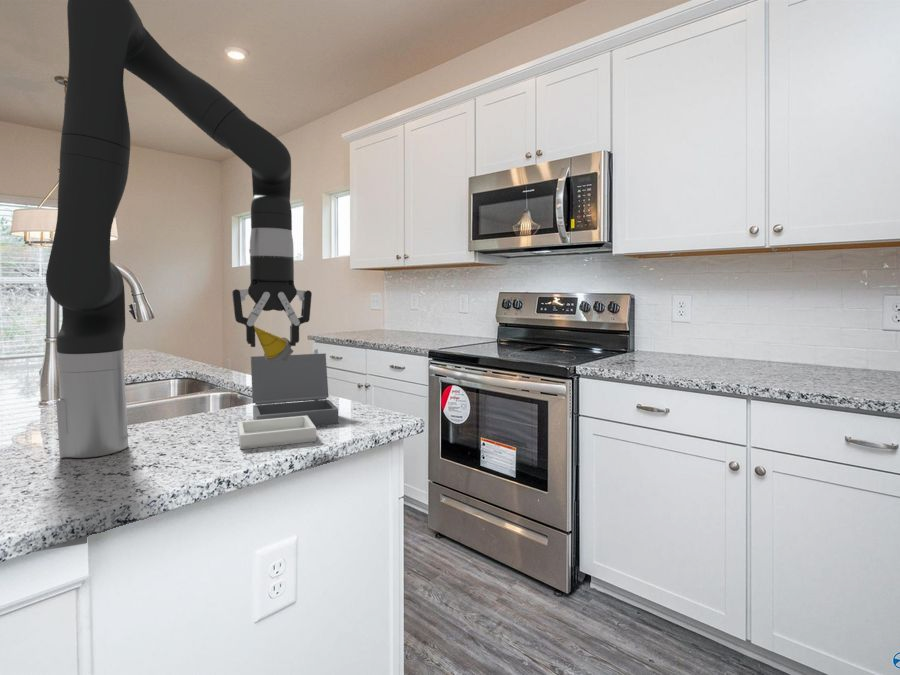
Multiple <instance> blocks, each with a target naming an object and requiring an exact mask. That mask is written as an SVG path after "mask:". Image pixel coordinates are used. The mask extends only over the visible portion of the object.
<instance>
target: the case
mask: <svg viewBox="0 0 900 675" xmlns="http://www.w3.org/2000/svg"><path fill="white" fill-rule="evenodd" d="M306 415H307V416H308V417H309V419H310V420H311V421H312V423H313V424H314V426H315V427H316V426H323V425H325V426H326V425H332V424H333V425H334V424H339V408H338V407H337V406H336V405H335V404H334V403H333V402H332V401H331V400H330V399H324V400H316V401H314V400H311V401H298V402H286V403H273V404H261V405H255V404H254V405H252V420H262V419H273V418H284V417H295V416H306Z"/></svg>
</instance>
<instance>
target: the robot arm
mask: <svg viewBox="0 0 900 675" xmlns="http://www.w3.org/2000/svg"><path fill="white" fill-rule="evenodd" d="M66 11H67V13H66V14H67V30H68V31H67V33H68V34H67V35H68V73H67V74H68V75H67V81H66V82H67V84H66V91H65V99H64V100H65V101H64V111H63V121H62V122H63V123H62V128H61V129H62V130H61V139H60V151H59V173H58V174H59V175H58V184H57V185H58V188H57V217H56V226H55V229H54V230H55V231H54V236H53V240H52V244H51V249H50V254H49V259H48V264H47V268H46V273H45V274H46V275H45V284H46V288H47V292H49V293H48V294H49V295H50V296H51V298H52V299H53V301H54V302H55V303H57V304H58V306H61V308H62V309H61V310H62V322H61V326H60V330H59V332H58V334H57V337H56V342H55V343H56V353H57V354H56V355H57V356H56V357H57V367H58V368H57V371H58V385H59V398H58V399H57V400H56V403H55V405H56V416H57V434H58V446H59V447H58V449H59V450H58V451H59V458H60V459H62V458H71V459H72V458H73V459H75V458H76V459H86V458H93V457H94V458H96V457H102V456H106V455H111V454H115V453H119V452H120V451H123V450H125V449H127V448H128V447H129V432H128V431H129V430H128V414H127V412H128V411H127V394H126V392H127V390H126V389H127V388H126V374H125V357H124V356H125V354H124V352H125V350H124V337H125V333H126V332H125V331H126V296H125V294H126V293H125V282H124V279H123V275H122V273H121V271H120V269H119V268H118V267H117V265H116V264H114V263H113V262H112V261H111V237H112V236H111V235H112V229H113V228H112V227H113V222H114V219H115V216H116V214H117V210H118V208H119V206H120V204H121V201H122V199H123V198H122V197H123V196H124V192H125V189H126V186H127V181H128V175H129V168H130V166H129V165H130V154H131V131H130V128H131V127H130V122H129V114H128V107H127V102H126V96H125V88H124V75H125V70H126V71H128V72H129V73H131V74H133V76H136V77H137V78H139V79H140V80H142V81H143V82H144V83H146V84H147V85H148V86H150V87H151V88H152V89H154V90H155V91H157V92H158V93H159V94H160V95H162V96H163V97H164V98H165V99H166V100H167V101H169V103H171V104H172V105H173V106H174V107H175V108H177V109H178V111H180V112H181V113H182V114H183V115H184V116H185V118H188V120H189V121H191V122H192V123H193V124H194V125H196V127H198V128H199V129H200V130H201V131H202V132H203V133H204V134H206V135H207V136H209V138H211V139H212V140H213V141H214V142H215V143H217V144H218V145H220V146H221V147H223V148H224V149H226V150H230V151H231V152H232V153H233V154H235V156H236V157H238V158H239V160H241V161H242V162H243V163H244V164H246V166H248V167H249V168H250V169H251V182H252V184H251V185H252V186H251V187H252V200H251V204H250V238H249V251H248V252H249V265H250V266H249V270H250V271H249V272H250V275H249V276H250V277H249V278H250V284H249V286H248V287H247V288H248V289H247V288H246V289H237V288H235V289H233V290H232V291H231V293H232V294H231V296H232V302H233V311H234V319H235V321H236V322H237V323H239V324H242V325H244V326H245V329H246V330H245V332H246V334H245V337H246V342H247V344H248V345H249V344H250V348H256V331H255V329H254V327H256V326H255V323H256V321H257V319H258V318H259V316H260V315H261V312H262V311H264V312H270V311H278V312H283V311H284V313H285V315H286V316H287V318H288V320H289V321H290V323H291V325H289V333H290V334H289V341H290V342H291V347H296V345H297V343H299V342H300V327H301V325H302V324H306V323H308V322H310V319H311V318H310V317H311V306H312V305H311V304H312V291H311V290H308V289H305V290H301V289H297V288H296V287H295V282H294V280H295V276H294V275H295V274H294V273H295V272H294V270H295V267H294V260H295V259H294V255H295V253H294V252H295V251H294V238H293V232H292V231H293V220H292V219H293V217H292V216H293V215H292V214H293V213H292V204H291V189H292V188H291V187H292V186H291V183H292V157H291V154H290V151H289V149H288V148H287V147H286V146H285V144H284V143H283V142H282V141H280V139H278V138H277V137H276V136H275V135H273V134H272V133H271V132H269V131H268V130H267V129H265V128H264V127H262V126H261V125H260V124H259V123H257V122H255V121H254V120H252V119H250V118H249V117H248V116H247V114H245V113H244V112H243V111H242V110H241V109H240V108H239V107H238V106H237V105H236V104H234V103H233V102H232V101H231V100H230V99H229V98H228V97H227V96H225V95H224V94H223V93H221V91H219V90H218V89H217V88H216V87H215V86H213V85H211V84H210V83H209V82H208V81H206V80H205V79H203V78H201V77H200V76H199V75H196V73H193V72H192V71H190V70H189V69H188V68H186V67H184V66H183V65H182V64H180V62H178V61H177V60H176V59H174V57H172V56H171V55H170V54H169V53H168V52H167V51H166V50H165V49H164V48H163V47H162V46H161V45H160V44H159V42H157V40H156V39H155V38H154V37H153V36H152V34H151V33H150V32H149V31H148V30H147V29H146V27H145V26H144V24H143V21H142V19H141V18H140V16H139V14H138V12H137V10H136V8H135V7H134V5H133V4H132V2H131V0H67V10H66ZM247 295H249V297H250V298H251V299H252V301H253V302H254V303H255V304H254V306H253V307H252V309H251V311H250V313H249V315H248V316H247V317H245V316H244V314H243V306H242V302H244V301H245V300H246V297H247ZM296 296H298V300H299V301H300V302H301V311H300V312H301V313H300V316H298V315H297V314H296V313H295V310H294V308H293V307H292V305H291V302H293V301H294V299H295V297H296Z"/></svg>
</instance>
